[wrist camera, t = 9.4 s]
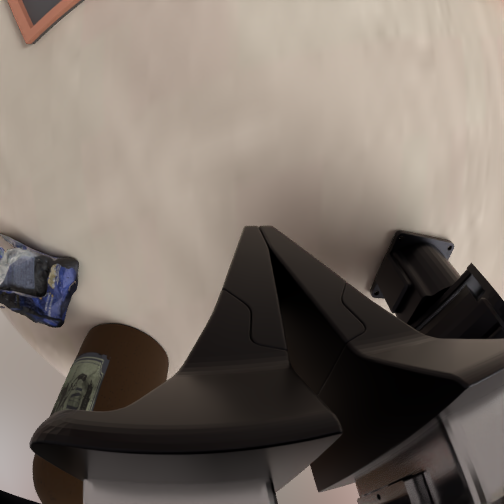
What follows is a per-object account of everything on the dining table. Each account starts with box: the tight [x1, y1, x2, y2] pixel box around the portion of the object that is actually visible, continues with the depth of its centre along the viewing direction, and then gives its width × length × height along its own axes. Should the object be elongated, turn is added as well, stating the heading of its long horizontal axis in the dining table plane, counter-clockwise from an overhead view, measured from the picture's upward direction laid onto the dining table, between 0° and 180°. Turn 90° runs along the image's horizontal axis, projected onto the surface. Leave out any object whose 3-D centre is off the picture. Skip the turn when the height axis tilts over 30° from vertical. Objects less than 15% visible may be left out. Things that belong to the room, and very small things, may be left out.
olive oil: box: [33, 324, 169, 504], centre depth 19 cm, size 11×11×25 cm
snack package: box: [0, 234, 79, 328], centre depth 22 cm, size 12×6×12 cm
